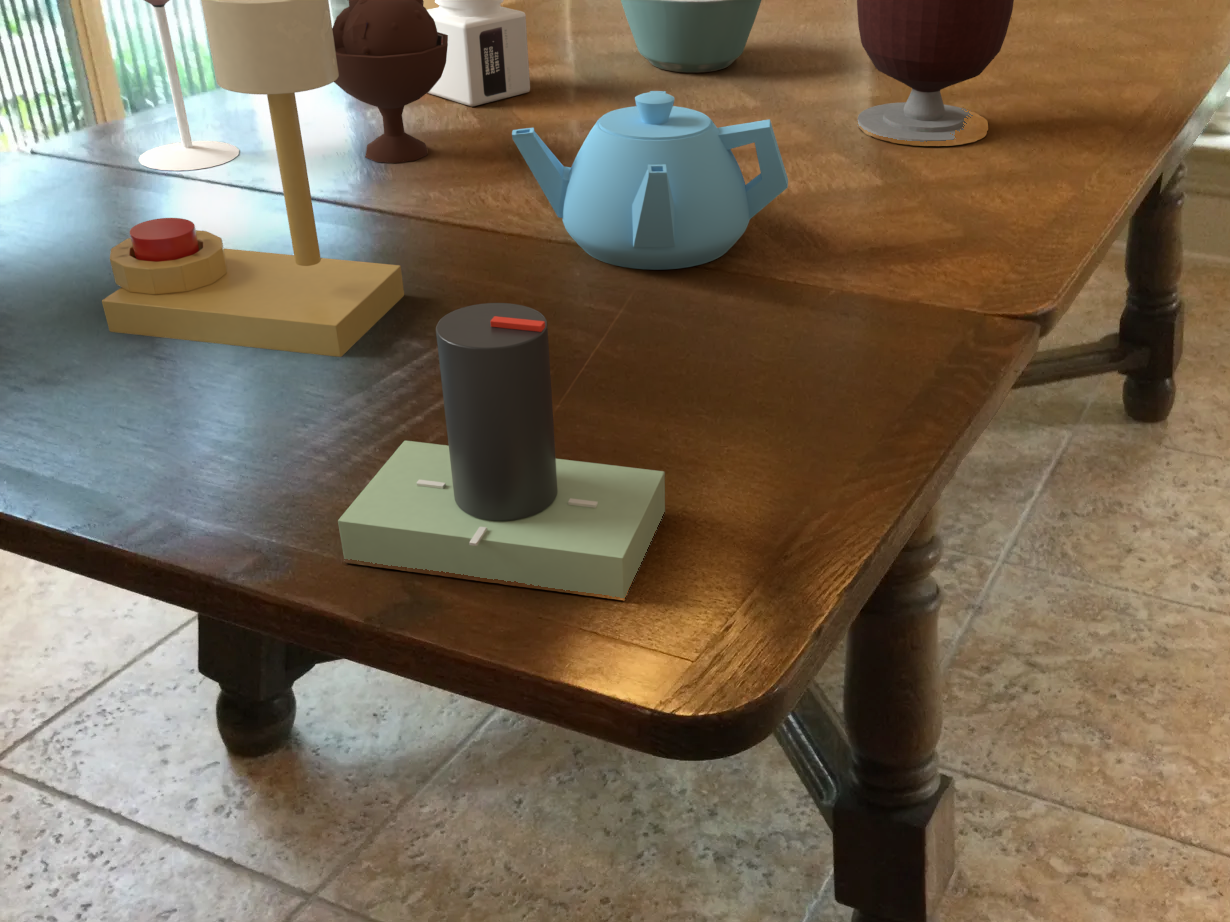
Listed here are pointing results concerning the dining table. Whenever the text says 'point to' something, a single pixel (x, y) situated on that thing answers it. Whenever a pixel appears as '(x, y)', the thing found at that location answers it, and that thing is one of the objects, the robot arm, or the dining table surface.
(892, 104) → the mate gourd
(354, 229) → the dining table surface
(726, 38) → the bowl
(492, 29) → the container
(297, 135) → the lamp
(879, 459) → the dining table surface
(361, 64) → the ice cream bowl
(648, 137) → the teapot
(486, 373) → the dimmer knob
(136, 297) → the lamp base
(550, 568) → the dimmer panel
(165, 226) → the lamp switch
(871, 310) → the dining table surface
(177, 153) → the wineglass
